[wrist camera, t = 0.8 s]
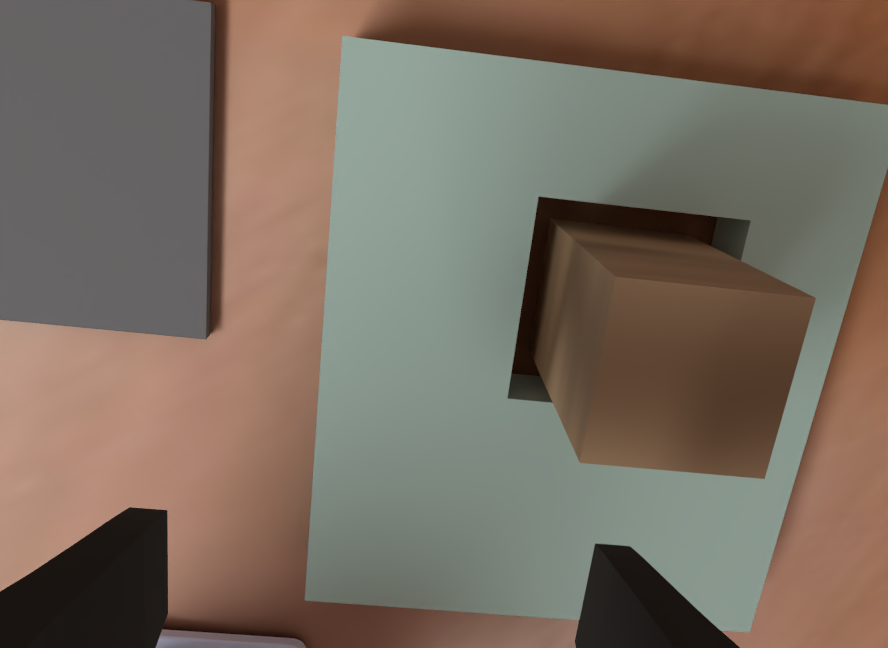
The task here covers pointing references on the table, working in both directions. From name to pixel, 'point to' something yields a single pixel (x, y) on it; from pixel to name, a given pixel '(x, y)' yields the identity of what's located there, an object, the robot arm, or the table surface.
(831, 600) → the table surface
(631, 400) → the walnut block
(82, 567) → the robot arm
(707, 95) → the pocket board
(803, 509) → the table surface
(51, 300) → the rubber mat
